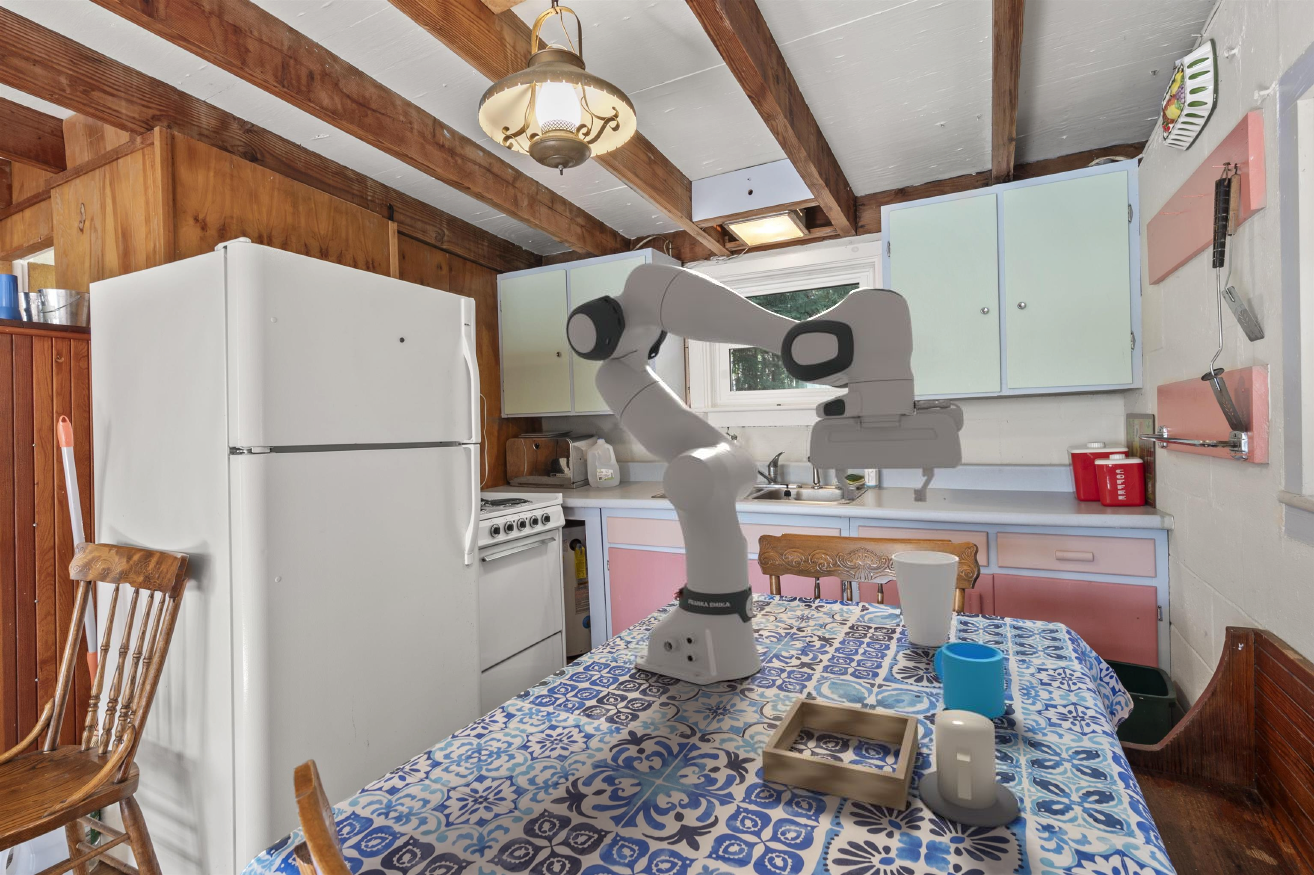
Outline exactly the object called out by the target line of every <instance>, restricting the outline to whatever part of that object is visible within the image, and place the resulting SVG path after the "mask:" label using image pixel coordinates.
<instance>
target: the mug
mask: <svg viewBox="0 0 1314 875" xmlns="http://www.w3.org/2000/svg"><path fill="white" fill-rule="evenodd" d="M933 664H934V670H935V672H936V675H937V677H938V679H939V681H940V682H941V684H942V696H943V697H942V699H943V701H942V702H943V705H944V706H945V708H947V710H963V711H969V712H973V713H977V714H980V715H982V716H984V717H986V718H988V719H989V720H992V719H998V718H1001V717H1002V716H1003V715H1005V714H1006V700H1005V698H1006V697H1005V696H1006V695H1005V691H1006V690H1005V661H1004V652H1002V650H1000V649H999V648H997V647H995V646H991V645H989V644H984V643H979V642H973V641H954V642H949V643H948V642H947V644H945V645H942V646H940V648H939V649H937V651H936V652H935V654H934V657H933Z"/></svg>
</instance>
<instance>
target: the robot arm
mask: <svg viewBox="0 0 1314 875" xmlns="http://www.w3.org/2000/svg"><path fill="white" fill-rule="evenodd" d="M911 319H912V318H911V311H910V308H909V304H908V302H907V299H906V298H905V297H904V296H903V295H902V294H900V293H899V292H897V291H895V290H891V289H889V288H888V289H887V288H880V287H860V288H856V289H854V290H852V291H850V292H848V294H847V295H846V296H845V298H844V299H842V300H841V301H840V302H838V303H837V304H835V305H834V306H832V307H830V308H829V309H827V310H825V311H824V312H821V313H820V314H817V315H814V316H812V317H810V318H808V319H803V320H801V321H798V320H795V319H792V318H791V317H790V318H789V317H787V316H784V315H780V314H777V313H775V312H772V311H770V310H768V309H765V308H763V307H761V306H760V305H758V304H756V303H754V302H752V301H751V300H749V299H747V298H745V296H742V295H741V294H739V293H737V292H736V291H734V290H732V289H730V288H729V287H728V286H726V285H724V284H722V282H721V283H720V282H719V281H717V280H716V279H713V278H711V277H709V276H707V275H705V274H703V273H700V272H698V271H694V270H691V269H687V268H684V267H681V266H676V265H672V264H666V263H658V262H657V263H655V262H645V263H641V264H639V265H637V266H635V267H634V268H633V270H631V271H630V273H629V274H628V276H627V277H626V280H625V282H624V288H623V290H622V293H621V294H618V295H615V296H610V295H607V294H606V295H605V294H604V295H602V296H599V297H597V298H594V299H591V300H588V301H586V302H584V303H582V304H580V305H578V306H577V307H575V308H574V309H573V310H572V311H571V312H570V314H569V316H568V317H567V320H566V325H565V326H566V327H565V331H566V339H567V341H568V344H569V346H570V349H571V350H572V351H573V352H574V354H576V355H577V356H578V357H579V358H581V359H583V360H586V361H592V362H593V361H594V362H598V361H599V362H600V361H601V362H602V363H601V364H600V366H599V368H598V369H597V371H596V374H595V375H594V376H595V378H594V383H595V387H596V389H597V390H596V391H598V393H599V395H600V397H601V398H602V400H603V401H604V402H605V404H606V406H607V407H608V408H609V410H610V411H611V412H612V413H613V415H614V416H615V417H616V419H617V420H619V422H620V423H621V424H622V425H623V426H624V427H625V429H626V430H627V431H628V432H629V433H630V434H631V435H632V436H633V437H634V438H635V439H636V441H637V442H638V443H639V444H640V445H641V446H642V447H643V448H644V449H645V451H647V453H648V454H651V455H652V456H654V457H656V458H658V459H660V460H662V461H663V462H665V463H666V464H668V465H667V466H666V468H665V470H664V472H663V477H662V487H663V491H664V495H665V497H666V498H667V500H668V501H669V503H670V504H671V505H672V506H673V508H674V510H675V513H676V515H677V519H678V522H679V525H680V529H681V532H682V536H683V543H684V550H685V552H684V555H685V568H686V569H685V570H686V582H685V583H684V585H683V586H682V587H680V588H679V589H678V591H676V592H674V593H673V594H674V595H675V596H674V600H677V599H678V605H677V607H675V608H674V609H673V610H671V611H670V612H669V613H668V614H666V615H665V616H664V617H663V618H661V619H660V620H659V621H657V623H655V624H654V626H653V627H652V628H651V631H650V633H649V637H648V642H647V643H648V645H647V647H646V648H645V649H643V650H642V651H641V652H639V654H638V655H637V657H636V659H635V667H636V668H637V669H641V670H644V671H647V672H652V673H656V674H660V675H663V676H665V677H666V676H667V677H670V678H674V679H679V680H682V681H685V682H689V683H693V684H697V685H704V686H705V685H709V684H712V683H713V684H714V683H717V682H721V681H722V682H723V681H728V680H729V681H730V680H737V679H743V678H746V677H749V676H752V675H754V674H756V673H757V672H759V671H760V669H761V668H762V666H763V664H762V660H761V657H760V653H759V651H758V647H757V643H756V642H757V641H756V638H755V633H754V625H753V617H754V597H753V589H752V588H753V587H752V585H751V583H750V571H749V569H750V568H749V566H750V565H749V545H748V544H749V543H748V540H747V538H746V536H745V535H744V534H743V531H742V528H741V523H740V521H739V517H738V513H737V507H736V506H737V503H738V502H741V501H742V500H743V499H745V498H747V496H748V495H749V494H750V493H751V492H752V490H753V489H754V487H755V486H756V484H757V481H758V477H759V469H758V465H757V462H756V460H755V458H754V457H753V456H752V455H751V454H750V453H749V452H748V451H747V450H745V449H743V448H741V447H740V446H738V445H737V444H735V443H734V442H733V441H732V440H731V439H729V438H728V437H727V436H726V435H724V433H722V432H721V431H719V430H718V429H717V428H715V427H714V426H713V425H712V424H710V423H709V422H707V421H706V420H705V419H703V418H702V417H701V416H699V415H698V414H697V413H696V411H695V412H694V411H693V410H692V409H691V408H690V407H689V406H688V405H687V404H686V403H685V402H684V401H683V399H682V398H680V397H679V396H678V394H676V393H675V392H674V391H673V389H671V387H669V386H668V385H667V383H666V382H664V380H662V379H661V378H660V376H658V374H656V373H655V372H654V371H653V369H652V368H651V367H650V364H649V360H653V359H655V358H656V357H657V356H658V355H659V353H660V350H661V346H662V345H663V343H664V342H665V341H666V338H667V336H668V334H671V335H673V336H677V337H679V338H683V339H687V340H692V341H697V342H704V343H715V344H728V345H729V344H731V345H739V346H740V345H743V346H749V347H754V348H758V349H761V350H765V351H766V352H770V353H772V354H775V355H778V356H780V358H781V363H782V365H783V368H784V370H785V371H786V372H787V373H788V375H790V376H791V377H792V378H793V379H795V380H797V381H799V382H802V383H806V384H811V385H819V386H829V387H831V388H834V389H847V393H844V394H841V395H838V396H835V397H834V398H833V397H832V398H830V399H827V400H826V401H823V402H819V403H818V404H817V405H816V407H815V414H816V417H817V418H818V419H819V420H817V421H816V422H815V423H814V424H813V426H812V428H811V432H810V439H809V440H810V441H809V463H810V465H811V466H812V467H813V469H815V470H834V475H835V479H836V480H837V482H838V483H839V485H840V487H841V488H842V489H843V500H844V501H846V502H848V501H849V502H853V501H854V502H855V501H857V498H858V497H857V487H851V486H850V483H849V482H848V481H847V479H846V477H847V476H848V475H849V473H848V472H849V470H882V469H883V470H889V469H890V470H893V469H894V470H896V469H897V470H898V469H899V470H901V469H902V470H903V469H905V470H906V469H910V470H911V469H913V470H917V469H918V470H919V469H921V470H922V474H921V476H922V477H924V478H925V480H924V482H923V484H921V487H915V488H914V489H913V494H914V502H916V503H919V502H920V503H926V502H927V498H928V497H927V496H928V495H927V493H928V492H927V489H928V487H929V485H931V482H932V480H933V478H934V477H935V469H956V468H958V467H959V466H960V465H961V464H962V462H963V452H962V445H961V438H960V433H959V432H961V431H962V429H963V427H964V424H965V422H964V412H963V409H962V407H961V406H960V405H958V404H957V403H954V402H951V400H949V399H940V400H937V401H936V400H934V401H933V400H922V401H921V400H920V401H919V400H917V401H916V399H915V395H916V394H915V377H914V373H913V371H912V370H913V369H912V366H911V359H912V355H913V351H914V350H913V349H914V344H913V343H914V342H913V328H912V320H911Z"/></svg>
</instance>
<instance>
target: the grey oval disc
mask: <svg viewBox="0 0 1314 875" xmlns="http://www.w3.org/2000/svg"><path fill="white" fill-rule="evenodd" d="M918 794H919V797H920V800H921V802H923V804H924V805H925V806H927V808H929V809H930V810H931V812H934V813H935V814H937V815H939V816H941V817H943V818H945V819H947V820H949V821H952V822H955V823H958V824H961V825H966V826H970V827H978V828H995V827H1001V826H1005V825H1008V824H1010V823H1012V822H1014V820H1016V819H1017V817H1018V815H1019V802H1018V799H1017V796H1016V795H1015V794H1014V793H1013V791H1012V790H1011V789H1009V788H1008V787H1007V786H1006V785H1005V784H1003V783H1001V782H999V781H997V780H996V794H997V800H996V803H995V804H994V805H992V806H991V807H988V808H982V809H973V808H966V807H962V806H959V805H956V804H954V803H951V802H949V801H948V800H946V799H945V798H943V797H942V796H941V795H940V794H939V792H938V790H937V770H933V771H931V772H930V771H929V773H926V774H925V775H923V776H922V777H921V778H920V779H919V782H918Z"/></svg>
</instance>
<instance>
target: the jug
mask: <svg viewBox="0 0 1314 875" xmlns="http://www.w3.org/2000/svg"><path fill="white" fill-rule="evenodd" d="M934 731H935V732H934V733H935V761H936V762H935V764H936V766H935V768H936V771H937V790H938V792H939V794H940V795H941V796H942V797H943V798H945V799H946V800H948V801H949V802H951V803H954V804H956V805H959V806H962V807H966V808H973V809H982V808H988V807H991V806H992V805H994V804H995V803H996V800H997V794H996V781H997V769H996V767H997V766H996V763H997V762H996V740H995V739H996V737H995V736H996V732H995V724H994V723H993V721H991V719H988V718H986V717H984V716H982V715H980V714H977V713H973V712H969V711H963V710H949V709H947V710H942V711H939V712H938V713H936V714H935V716H934Z"/></svg>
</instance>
